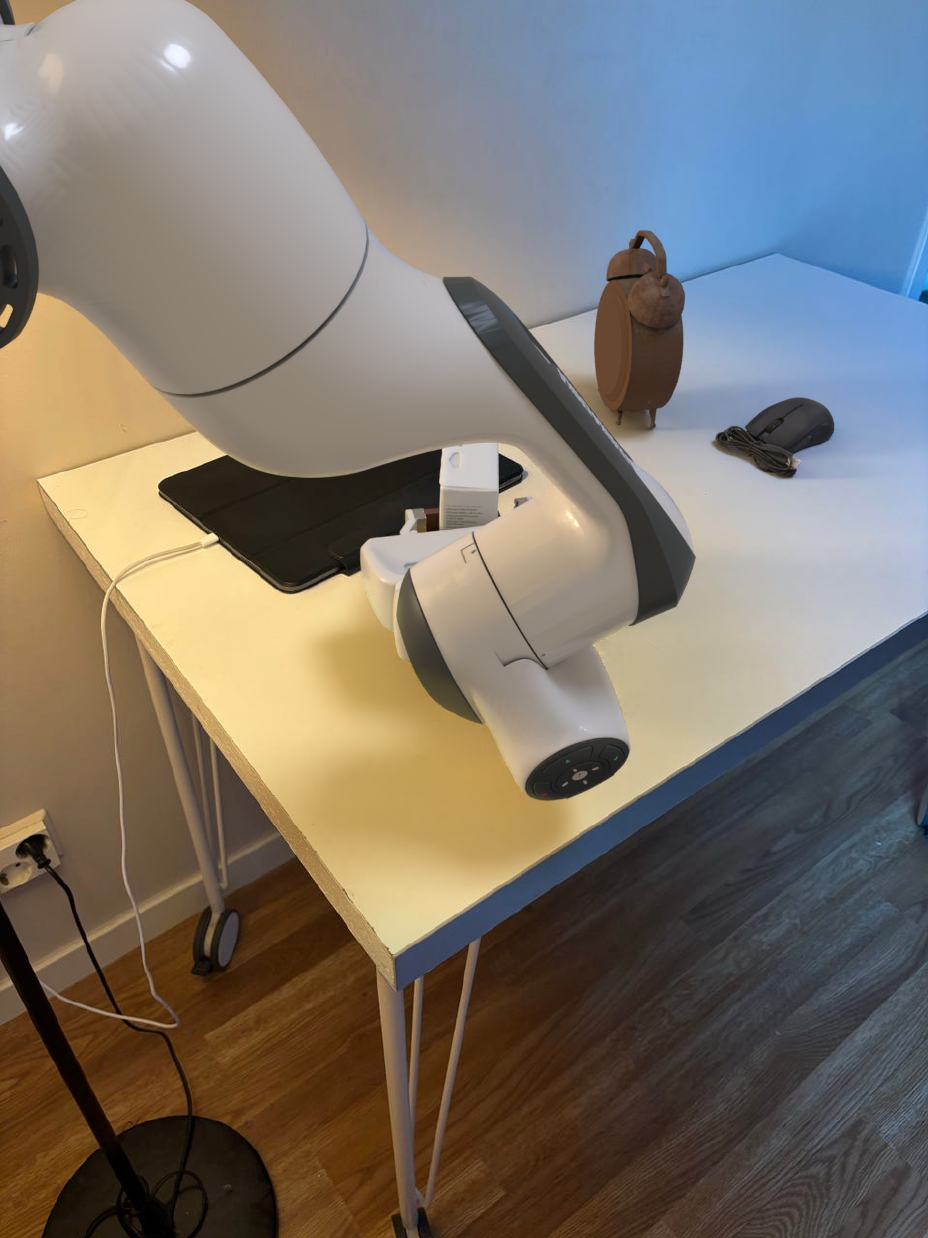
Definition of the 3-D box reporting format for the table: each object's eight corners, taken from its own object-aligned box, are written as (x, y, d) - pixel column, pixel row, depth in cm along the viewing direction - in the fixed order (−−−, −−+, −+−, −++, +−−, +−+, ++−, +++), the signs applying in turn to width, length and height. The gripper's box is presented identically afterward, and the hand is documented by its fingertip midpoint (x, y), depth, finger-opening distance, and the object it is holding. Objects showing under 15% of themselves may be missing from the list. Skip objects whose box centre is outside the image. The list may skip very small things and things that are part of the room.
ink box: (493, 604, 83) (500, 489, 75) (436, 602, 83) (438, 487, 75) (493, 546, 89) (499, 435, 82) (440, 544, 89) (442, 433, 82)
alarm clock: (677, 440, 106) (713, 260, 93) (614, 443, 105) (642, 262, 92) (639, 380, 117) (667, 211, 104) (582, 382, 116) (603, 212, 103)
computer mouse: (860, 439, 108) (870, 408, 105) (786, 483, 100) (795, 451, 98) (784, 405, 113) (792, 375, 111) (709, 444, 106) (716, 413, 103)
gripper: (649, 563, 71) (588, 465, 81) (376, 597, 67) (348, 490, 77) (636, 627, 75) (580, 526, 85) (378, 662, 71) (352, 552, 81)
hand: (468, 509), depth 81 cm, fingers open, 8 cm apart
